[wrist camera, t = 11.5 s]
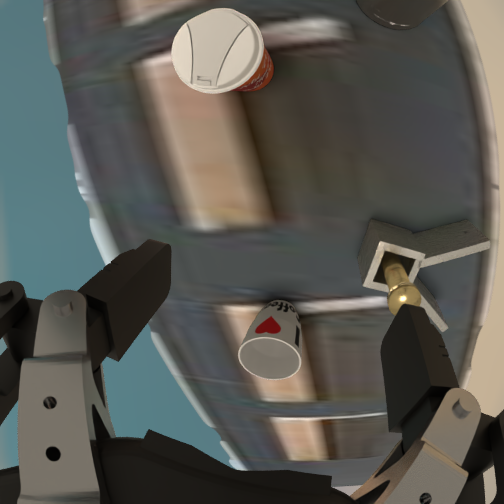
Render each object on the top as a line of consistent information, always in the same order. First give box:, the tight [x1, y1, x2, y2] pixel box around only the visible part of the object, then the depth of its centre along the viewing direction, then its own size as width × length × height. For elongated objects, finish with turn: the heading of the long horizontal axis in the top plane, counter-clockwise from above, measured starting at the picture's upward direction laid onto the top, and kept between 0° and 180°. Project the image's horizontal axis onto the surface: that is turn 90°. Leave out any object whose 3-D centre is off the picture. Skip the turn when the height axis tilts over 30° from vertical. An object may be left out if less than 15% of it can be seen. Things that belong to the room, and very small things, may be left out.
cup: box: [238, 300, 302, 380], centre depth 41 cm, size 8×8×10 cm
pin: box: [380, 251, 422, 315], centre depth 31 cm, size 3×3×13 cm
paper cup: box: [171, 8, 274, 93], centre depth 24 cm, size 8×8×14 cm
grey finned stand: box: [357, 219, 490, 332], centre depth 33 cm, size 14×14×7 cm
